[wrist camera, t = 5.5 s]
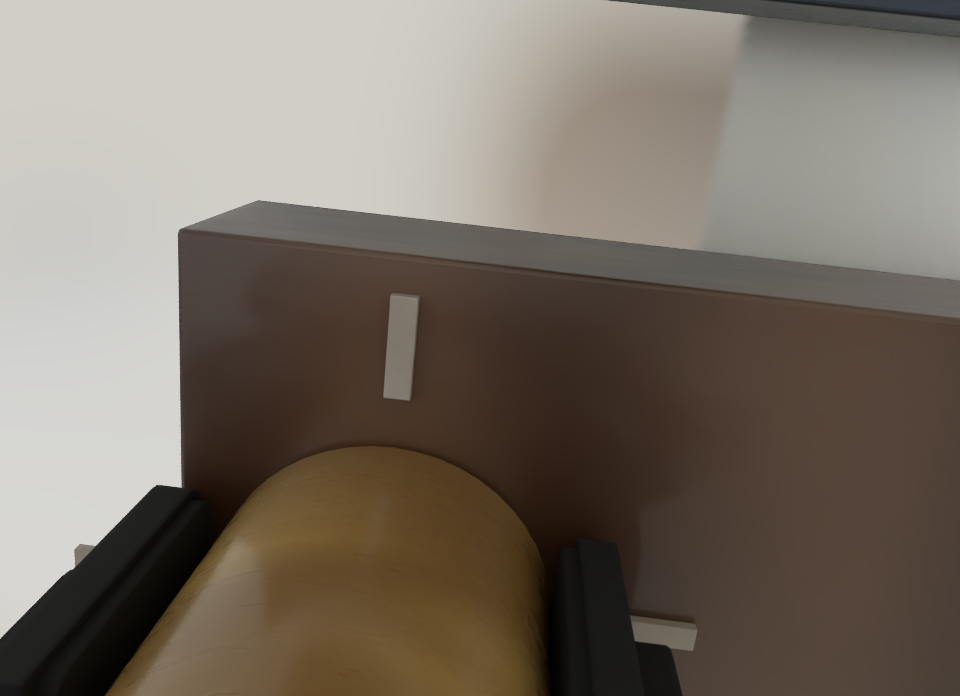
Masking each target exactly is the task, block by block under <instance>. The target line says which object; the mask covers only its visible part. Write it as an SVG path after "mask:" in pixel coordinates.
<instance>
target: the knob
mask: <svg viewBox="0 0 960 696" xmlns="http://www.w3.org/2000/svg"><path fill="white" fill-rule="evenodd" d="M104 696H552V678H551V643H550V609H549V592H548V582H547V577H546V573H545V569H544V564H543V562H542V559H541V557H540V554H539V551H538V549H537V546H536V544H535V542H534V541H533V539H532V537H531V535H530V534H529V532H528V530H527V528H526V527H525V525H524V524H523V523H522V521H521V520H520V519H519V517H518V516H517V515H516V513H515V512H514V511H513V510H512V509H511V508H510V507H509V506H508V505H507V504H506V503H505V502H504V501H503V500H502V498H501V497H500V496H499V495H498V494H496V493H495V492H494V491H493V490H491V489H490V488H489V487H488V486H486V485H485V484H484V483H482V482H481V481H480V480H479V479H477V478H475V477H474V476H472V475H470V474H469V473H467V472H465V471H464V470H462V469H460V468H458V467H456V466H454V465H452V464H450V463H447V462H445V461H443V460H441V459H438V458H435V457H432V456H429V455H425V454H422V453H419V452H415V451H410V450H405V449H399V448H394V447H378V446H363V447H347V448H342V449H336V450H331V451H326V452H322V453H319V454H316V455H313V456H310V457H307V458H304V459H302V460H299V461H297V462H295V463H293V464H291V465H289V466H287V467H285V468H283V469H282V470H280V471H279V472H277V473H276V474H274V475H273V476H271V477H270V478H268V479H267V480H266V481H265V482H263V483H262V484H261V485H260V486H259V487H258V488H257V489H256V490H254V491H253V492H252V493H251V495H250V496H249V497H248V498H247V499H246V501H245V502H244V503H243V504H242V505H241V507H240V508H239V509H238V511H237V512H236V513H235V515H234V516H233V518H232V519H231V520H230V522H229V523H228V525H227V526H226V527H225V529H224V530H223V531H222V533H221V534H220V536H219V537H218V538H217V540H216V541H215V543H214V544H213V545H212V547H211V548H210V550H209V551H208V552H207V554H206V555H205V556H204V558H203V559H202V561H201V562H200V563H199V565H198V566H197V568H196V569H195V570H194V572H193V573H192V575H191V576H190V577H189V579H188V580H187V581H186V583H185V584H184V586H183V587H182V588H181V590H180V591H179V593H178V594H177V595H176V597H175V598H174V599H173V601H172V602H171V604H170V605H169V606H168V608H167V609H166V611H165V612H164V613H163V615H162V616H161V618H160V619H159V620H158V622H157V623H156V624H155V626H154V627H153V629H152V630H151V631H150V633H149V634H148V636H147V637H146V638H145V640H144V641H143V643H142V644H141V645H140V647H139V648H138V649H137V651H136V652H135V654H134V655H133V656H132V658H131V659H130V661H129V662H128V663H127V665H126V666H125V668H124V669H123V670H122V672H121V673H120V674H119V676H118V677H117V679H116V680H115V681H114V683H113V684H112V686H111V687H110V688H109V690H108V691H107V692H106V694H105V695H104Z"/></svg>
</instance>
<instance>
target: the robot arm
mask: <svg viewBox="0 0 960 696" xmlns="http://www.w3.org/2000/svg"><path fill="white" fill-rule="evenodd" d="M211 547H212V507H211V504H210V502H208V501H201V496H200V493H199V492H198V491H197V490H194V489H186V488H178V487H170V486H162V485H156V486H155V487H154V488H152V489H151V490H150V491H149V492H148V493H147V494H146V495H145V497H143V498H142V500H140V502H139V503H138V504H137V505H136V506H135V507H134V508H133V509H132V510H131V511H130V512H129V513H128V514H127V515H126V516H125V517H124V518H123V519H122V520H121V521H120V522H119V523H118V524H117V525H116V526H115V527H114V528H113V529H112V530H111V531H110V532H109V533H108V534H107V535H106V536H105V537H104V538H103V539H102V540H101V541H100V542H99V544H98V545H96V546H95V547H94V549H93V550H92V551H91V552H90V553H89V554H88V555H87V556H86V557H85V558H84V559H83V560H82V561H81V562H80V563H79V564H78V565H77V566H76V567H75V568H74V569H73V570H70V571H69V572H67V573H66V574H65V575H63V576H62V577H61V578H60V579H59V580H58V581H57V582H56V583H55V584H54V585H53V586H52V587H51V588H50V589H49V590H48V591H47V592H46V593H45V594H44V595H43V596H42V597H41V598H40V599H39V600H38V601H37V602H36V603H35V604H34V605H33V606H32V607H31V608H30V609H29V610H28V611H27V612H26V613H25V614H24V615H23V616H22V617H21V618H20V619H19V620H18V621H17V622H16V624H14V625H13V627H11V628H10V630H9V631H8V632H7V633H6V634H5V635H4V636H3V637H2V638H1V639H0V696H104V695H105V694H106V692H107V691H108V690H109V688H110V687H111V686H112V684H113V683H114V681H115V680H116V679H117V677H118V676H119V674H120V673H121V672H122V670H123V669H124V668H125V666H126V665H127V663H128V662H129V661H130V659H131V658H132V656H133V655H134V654H135V652H136V651H137V649H138V648H139V647H140V645H141V644H142V643H143V641H144V640H145V638H146V637H147V636H148V634H149V633H150V631H151V630H152V629H153V627H154V626H155V624H156V623H157V622H158V620H159V619H160V618H161V616H162V615H163V613H164V612H165V611H166V609H167V608H168V606H169V605H170V604H171V602H172V601H173V599H174V598H175V597H176V595H177V594H178V593H179V591H180V590H181V588H182V587H183V586H184V584H185V583H186V581H187V580H188V579H189V577H190V576H191V575H192V573H193V572H194V570H195V569H196V568H197V566H198V565H199V563H200V562H201V561H202V559H203V558H204V556H205V555H206V554H207V552H208V551H209V550H210V548H211ZM550 643H551V678H552V696H683V695H682V691H681V686H680V682H679V678H678V674H677V670H676V666H675V662H674V658H673V655H672V652H671V649H670V648H669V647H668V646H667V645H660V644H653V643H645V642H638V641H635V639H634V634H633V628H632V623H631V617H630V612H629V606H628V601H627V595H626V590H625V585H624V579H623V574H622V568H621V563H620V557H619V552H618V547H617V544H616V543H613V542H605V541H597V540H589V539H581V538H577V540H576V544H575V548H571V547H563V546H562V547H561V551H560V556H559V562H558V568H557V575H556V581H555V588H554V594H553V601H552V607H551V613H550Z"/></svg>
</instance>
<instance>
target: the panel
mask: <svg viewBox="0 0 960 696" xmlns="http://www.w3.org/2000/svg"><path fill="white" fill-rule="evenodd" d="M178 261H179V328H180V329H179V331H180V401H181V464H182V465H181V468H182V469H181V470H182V488H186V489H194V490H197V491H198V492H199V493H200V496H201V501H208V502H210V504H211V507H212V545H213V544H214V543H215V541H216V540H217V538H218V537H219V536H220V534H221V533H222V531H223V530H224V529H225V527H226V526H227V525H228V523H229V522H230V520H231V519H232V518H233V516H234V515H235V513H236V512H237V511H238V509H239V508H240V507H241V505H242V504H243V503H244V502H245V501H246V499H247V498H248V497H249V496H250V495H251V493H252V492H253V491H254V490H256V489H257V488H258V487H259V486H260V485H261V484H262V483H263V482H265V481H266V480H267V479H268V478H270V477H271V476H273V475H274V474H276V473H277V472H279V471H280V470H282V469H283V468H285V467H287V466H289V465H291V464H293V463H295V462H297V461H299V460H302V459H304V458H307V457H310V456H313V455H316V454H319V453H322V452H326V451H331V450H336V449H342V448H347V447H363V446H378V447H394V448H399V449H405V450H410V451H415V452H419V453H422V454H425V455H429V456H432V457H435V458H438V459H441V460H443V461H445V462H447V463H450V464H452V465H454V466H456V467H458V468H460V469H462V470H464V471H465V472H467V473H469V474H470V475H472V476H474V477H475V478H477V479H479V480H480V481H481V482H482V483H484V484H485V485H486V486H488V487H489V488H490V489H491V490H493V491H494V492H495V493H496V494H498V495H499V496H500V497H501V498H502V500H503V501H504V502H505V503H506V504H507V505H508V506H509V507H510V508H511V509H512V510H513V511H514V512H515V513H516V515H517V516H518V517H519V519H520V520H521V521H522V523H523V524H524V525H525V527H526V528H527V530H528V532H529V534H530V535H531V537H532V539H533V541H534V542H535V544H536V546H537V549H538V551H539V554H540V557H541V559H542V562H543V564H544V569H545V573H546V577H547V582H548V592H549V609H550V613H551V607H552V601H553V594H554V588H555V581H556V575H557V568H558V562H559V556H560V551H561V547H562V546H563V547H571V548H575V544H576V540H577V538H581V539H589V540H597V541H605V542H613V543H616V544H617V547H618V552H619V557H620V563H621V568H622V574H623V579H624V585H625V590H626V595H627V601H628V606H629V612H630V617H631V623H632V628H633V634H634V639H635V641H638V642H645V643H653V644H660V645H667V646H668V647H669V648H670V649H671V652H672V655H673V658H674V662H675V666H676V670H677V674H678V678H679V682H680V686H681V691H682V695H683V696H960V281H956V280H948V279H939V278H930V277H922V276H913V275H904V274H895V273H887V272H878V271H869V270H861V269H852V268H843V267H834V266H826V265H817V264H808V263H799V262H791V261H782V260H773V259H765V258H756V257H747V256H738V255H730V254H721V253H712V252H704V251H695V250H686V249H677V248H668V247H660V246H650V245H643V244H634V243H625V242H616V241H608V240H598V239H589V238H581V237H573V236H564V235H555V234H547V233H537V232H529V231H520V230H511V229H502V228H494V227H484V226H477V225H467V224H459V223H451V222H442V221H433V220H425V219H416V218H407V217H398V216H390V215H381V214H372V213H363V212H354V211H346V210H337V209H328V208H320V207H311V206H302V205H294V204H285V203H276V202H267V201H255V202H253V203H250V204H247V205H244V206H242V207H239V208H236V209H233V210H231V211H228V212H225V213H222V214H220V215H217V216H214V217H212V218H209V219H206V220H204V221H201V222H198V223H195V224H193V225H190V226H187V227H185V228H182V229H180V230H179V233H178ZM94 547H95V546H90V545H83V544H80V545H79V546H78V547H77V548H76V549H75V567H76V566H77V565H78V564H79V563H80V562H81V561H82V560H83V559H84V558H85V557H86V556H87V555H88V554H89V553H90V552H91V551H92V550H93V549H94Z"/></svg>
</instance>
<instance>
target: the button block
mask: <svg viewBox="0 0 960 696" xmlns="http://www.w3.org/2000/svg"><path fill="white" fill-rule="evenodd" d="M610 1H619V2H629V3H638V4H648V5H657V6H667V7H677V8H686V9H696V10H705V11H714V12H724V13H733V14H743V15H752V16H762V17H771V18H781V19H790V20H800V21H809V22H819V23H828V24H838V25H847V26H857V27H866V28H876V29H885V30H895V31H904V32H914V33H923V34H933V35H942V36H952V37H960V0H610Z"/></svg>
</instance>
